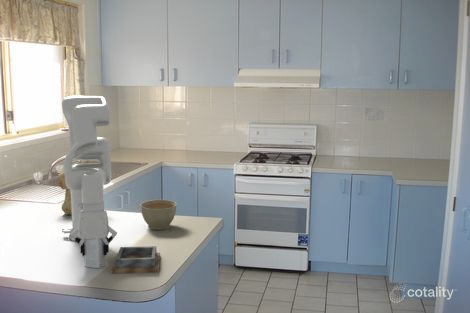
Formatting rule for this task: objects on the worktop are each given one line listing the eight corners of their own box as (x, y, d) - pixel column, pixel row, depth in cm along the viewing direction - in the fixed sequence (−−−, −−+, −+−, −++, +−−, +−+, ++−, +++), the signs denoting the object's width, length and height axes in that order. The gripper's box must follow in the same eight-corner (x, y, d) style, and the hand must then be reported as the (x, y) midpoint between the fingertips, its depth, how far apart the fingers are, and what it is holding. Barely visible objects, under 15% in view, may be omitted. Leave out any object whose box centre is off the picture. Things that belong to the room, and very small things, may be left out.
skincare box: (105, 264, 186) (104, 233, 184) (99, 268, 182) (98, 236, 180) (91, 262, 188) (90, 231, 186) (84, 266, 184) (83, 234, 182)
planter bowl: (133, 229, 229) (133, 205, 227) (155, 220, 243) (154, 198, 241) (163, 234, 222) (162, 210, 220) (183, 225, 236) (183, 202, 234)
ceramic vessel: (63, 208, 263) (61, 160, 259) (101, 207, 265) (100, 160, 261) (54, 217, 246) (51, 166, 242) (95, 216, 248) (93, 166, 244)
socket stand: (112, 273, 178) (111, 261, 177) (117, 257, 194) (117, 246, 193) (158, 272, 179) (158, 260, 179) (160, 256, 195) (159, 244, 194)
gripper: (65, 210, 177) (67, 258, 180) (116, 209, 179) (118, 257, 181) (70, 204, 184) (72, 251, 187) (119, 203, 186) (120, 250, 189)
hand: (94, 254), depth 184 cm, fingers closed on skincare box, 7 cm apart
